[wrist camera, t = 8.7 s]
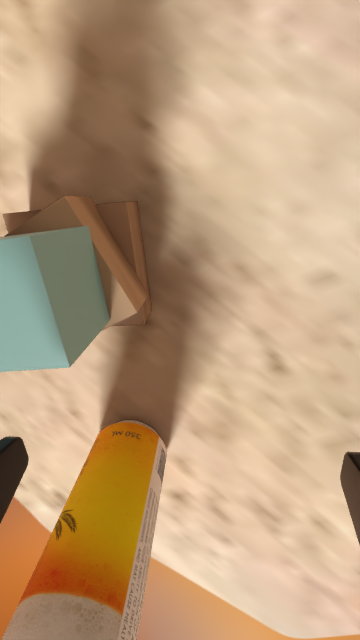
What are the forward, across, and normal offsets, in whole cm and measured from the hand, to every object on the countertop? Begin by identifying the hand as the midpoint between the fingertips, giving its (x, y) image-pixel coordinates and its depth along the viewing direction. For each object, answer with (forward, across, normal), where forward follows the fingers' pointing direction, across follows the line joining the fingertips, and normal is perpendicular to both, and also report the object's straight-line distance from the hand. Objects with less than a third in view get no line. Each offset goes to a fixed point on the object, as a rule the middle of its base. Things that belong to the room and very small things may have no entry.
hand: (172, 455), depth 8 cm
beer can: (+13, +6, +12) cm, 19 cm away
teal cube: (+7, +6, -4) cm, 10 cm away
